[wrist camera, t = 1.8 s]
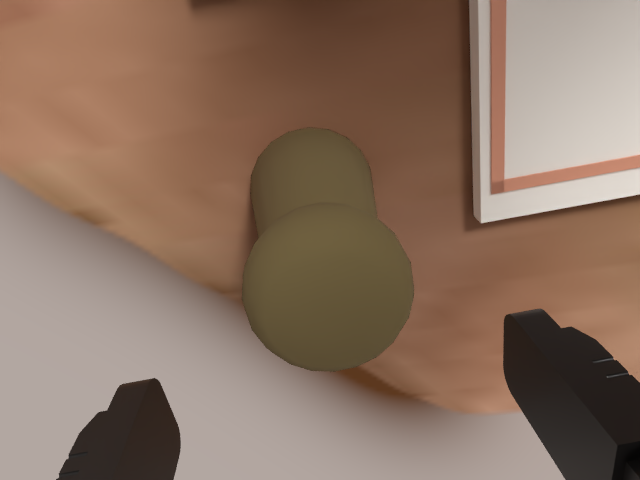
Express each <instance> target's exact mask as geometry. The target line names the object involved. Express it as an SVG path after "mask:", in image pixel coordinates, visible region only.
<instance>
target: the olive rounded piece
mask: <svg viewBox="0 0 640 480" xmlns="http://www.w3.org/2000/svg"><path fill="white" fill-rule="evenodd" d="M250 194H251V200H252V205H253V211H254V216H255V222H256V227H257V233H258V240H257V241H256V242H255V243H254V245H253V248H252V250H251V252H250V255H249V257H248V259H247V262H246V264H245V267H244V272H243V284H242V301H243V304H244V308H245V311H246V313H247V316H248V319H249V322H250V325H251V328H252V330H253V332H254V333H255V334H256V335H257V337H258V338H259V339H260V340H261V342H262V343H263V344H264V345H265V347H266V348H267V349H269V350H270V351H271V352H272V353H274V354H275V355H277V356H279V357H280V358H282V359H284V360H285V361H286V362H288V363H289V364H291V365H295V366H298V367H301V368H304V369H308V370H311V371H333V372H334V371H339V370H344V369H349V368H354V367H357V366H359V365H361V364H363V363H365V362H367V361H370V360H372V359H374V358H376V357H377V356H378V355H379V354H381V353H382V352H383V351H384V350H385V349H386V348H387V347H389V346H390V345H391V344H392V343H393V342H394V340H395V339H396V337H397V336H398V334H399V332H400V331H401V329H402V328H403V326H404V324H405V323H406V321H407V320H408V318H409V315H410V310H411V306H412V302H413V297H414V284H413V277H412V270H411V262H410V261H409V259H408V257H407V255H406V253H405V251H404V250H403V248H402V246H401V244H400V242H399V241H398V239H397V237H396V235H395V234H394V232H392V231H391V230H390V229H389V228H388V227H387V226H385V225H384V224H383V223H382V222H381V221H380V220H379V219H378V218H377V211H376V204H375V197H374V190H373V184H372V177H371V171H370V167H369V165H368V163H367V161H366V159H365V157H364V155H363V154H362V152H361V150H360V149H359V148H357V147H356V146H355V145H354V144H353V143H352V142H351V141H350V140H349V139H348V138H347V137H344V136H342V135H340V134H338V133H335V132H333V131H331V130H329V129H318V128H304V129H300V130H295V131H291V132H288V133H286V134H284V135H283V136H281V137H279V138H278V139H276V140H274V141H273V142H271V143H270V144H269V145H268V147H267V148H266V149H265V150H264V151H263V152H262V154H261V155H260V156H259V157H258V159H257V162H256V165H255V167H254V170H253V172H252V175H251V192H250Z"/></svg>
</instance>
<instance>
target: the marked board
mask: <svg viewBox="0 0 640 480" xmlns="http://www.w3.org/2000/svg"><path fill="white" fill-rule="evenodd" d="M469 21H470V69H471V118H472V166H473V214H474V217H475V218H476V219H477V220H478V221H479V222H480V223H486V222H491V221H497V220H502V219H507V218H513V217H518V216H524V215H529V214H535V213H540V212H546V211H551V210H557V209H562V208H568V207H573V206H579V205H584V204H590V203H595V202H601V201H606V200H612V199H617V198H623V197H628V196H634V195H639V194H640V0H469Z"/></svg>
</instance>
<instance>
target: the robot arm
mask: <svg viewBox="0 0 640 480" xmlns="http://www.w3.org/2000/svg"><path fill="white" fill-rule="evenodd" d="M503 368H504V375H505V379H506V382H507V385H508V388H509V390H510V392H511V394H512V396H513V397H514V399H515V401H516V402H517V404H518V405H519V407H520V408H521V410H522V412H523V413H524V415H525V416H526V418H527V419H528V421H529V423H530V424H531V426H532V427H533V429H534V430H535V432H536V434H537V435H538V437H539V438H540V440H541V442H542V443H543V445H544V446H545V448H546V449H547V451H548V453H549V454H550V456H551V457H552V459H553V460H554V462H555V464H556V465H557V467H558V468H559V470H560V471H561V473H562V475H563V476H564V478H565V479H566V480H640V383H639V382H638V381H637V380H636V379H635V378H634V377H633V376H632V375H629V374H628V371H627V370H626V369H625V368H624V367H623V366H622V365H621V364H620V363H619V362H618V361H617V360H614V359H613V356H612V355H611V354H610V353H609V352H608V351H607V350H606V349H605V348H604V347H603V346H602V345H601V344H600V343H599V342H598V341H597V340H595V339H594V338H592V337H590V336H588V335H586V334H584V333H582V332H580V331H579V330H577V329H575V328H573V327H566V328H560V326H559V325H558V324H557V323H556V322H555V321H554V320H553V319H552V318H551V317H550V316H549V315H548V314H547V313H546V312H545V311H544V310H542V309H535V310H529V311H524V312H518V313H513V314H508V315H506V316H505V319H504V354H503ZM179 454H180V432H179V427H178V424H177V422H176V420H175V417H174V415H173V412H172V410H171V408H170V405H169V403H168V400H167V398H166V396H165V393H164V391H163V389H162V386H161V384H160V382H159V381H158V380H157V379H155V378H153V379H148V380H142V381H137V382H132V383H126V384H122V385H120V386H119V387H118V389H117V391H116V393H115V395H114V397H113V399H112V401H111V404H110V406H109V408H108V410H107V411H103V412H99V413H97V414H96V416H95V417H94V418H93V419H92V420H91V421H90V422H89V423H88V424H87V425H86V427H85V428H84V429H83V430H82V431H81V432H80V433H79V435H78V437H77V439H76V441H75V443H74V446H73V447H72V449H71V451H70V453H69V459H67V460H66V461H65V463H64V465H63V467H62V469H61V471H60V473H59V478H58V479H56V480H173V479H174V475H175V471H176V467H177V463H178V459H179Z"/></svg>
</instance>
